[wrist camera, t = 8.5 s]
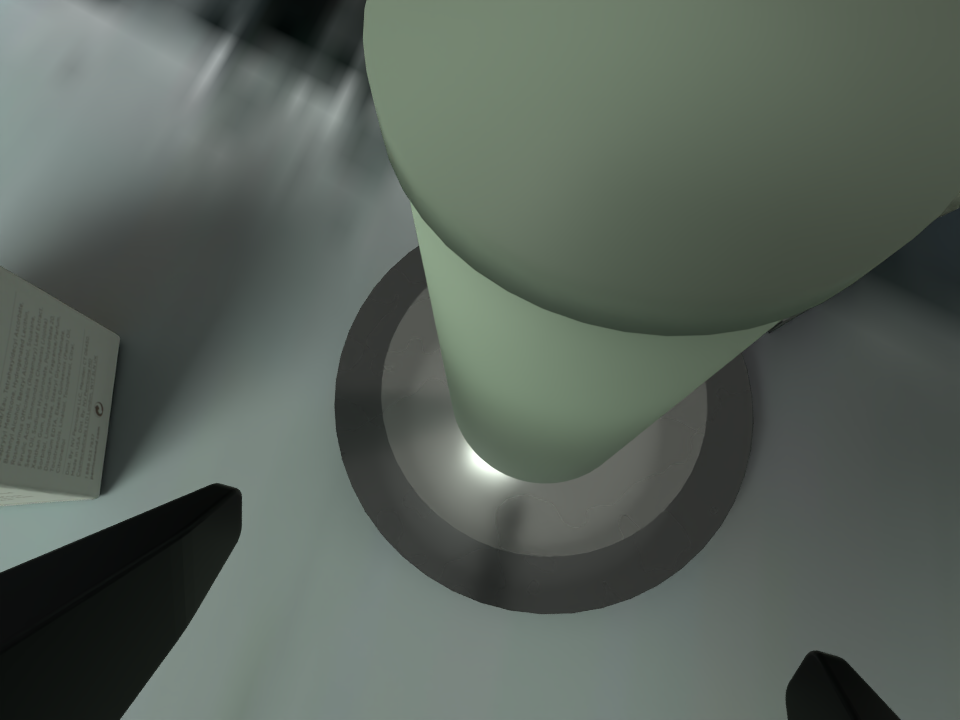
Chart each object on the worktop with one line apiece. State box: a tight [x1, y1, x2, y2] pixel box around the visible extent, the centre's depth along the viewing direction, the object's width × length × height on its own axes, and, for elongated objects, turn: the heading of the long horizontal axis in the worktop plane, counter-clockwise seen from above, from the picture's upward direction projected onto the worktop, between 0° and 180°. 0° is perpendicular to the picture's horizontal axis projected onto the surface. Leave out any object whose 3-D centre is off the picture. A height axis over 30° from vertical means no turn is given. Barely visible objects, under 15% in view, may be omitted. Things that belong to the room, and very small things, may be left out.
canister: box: [363, 0, 960, 484], centre depth 12 cm, size 6×6×13 cm
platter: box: [335, 246, 753, 614], centre depth 19 cm, size 13×13×1 cm
